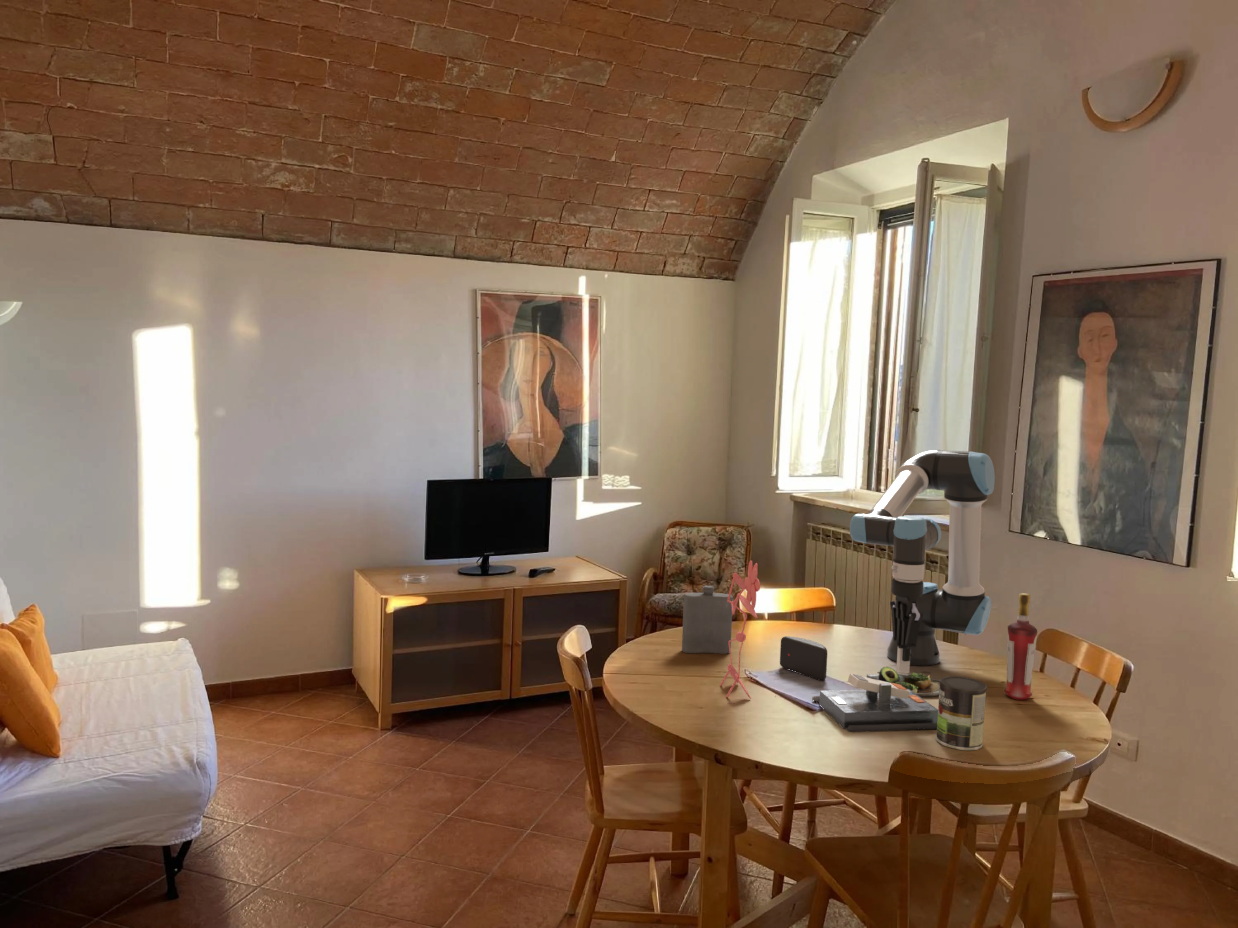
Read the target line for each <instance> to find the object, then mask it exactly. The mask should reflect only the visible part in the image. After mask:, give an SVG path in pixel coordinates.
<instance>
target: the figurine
mask: <svg viewBox="0 0 1238 928" xmlns="http://www.w3.org/2000/svg"><path fill="white" fill-rule="evenodd" d="M758 566H759V565H758V563H757V562H756V563H755V564H754V565H753V560H750V561H749V562H748V567H747V577H745V578H744V580H743V579H742V578H741V576H740V575H739V574H738V573H737V572H734V573H733V574H732V580H731V585H730V588H729V592H728V594H729V595H728V599H727V602H729V603H731V606H732V616H734V615H735V613H736V609H737V610H738V611H740V613H742V614H743V615H744V619H743V625H742V631H738V632H737V633H736V634H735V638H733V639H731V640H730V641H728V644H729V652H730V653H729V658H730V664H728V665H727V672H726V673H725V675H724V677H723V679H722V680H721V682H720V684H719V686H720V687H722V686H723V685H724V682H725V681H726V679H727V678H728V676H729V675H730V677H732V679H733V680H734V682H733V683H732V685H731V686H730V689H729V690H728V691H727V694H726V697H727V698H729V696H730V694H731V693H732V691H733V689H734V687H735V686H736V684H739V685H740V686H741V688H742V690H743V691H744V693H745V694H746V695H747V697H748V698H749V699H750V700H751V699H752V697H751V696H750V694H749V692H748V690H747V688H746V686H745V685H744V683H743V682H742V680H741V677H740V673H741V672H740V671H741V650H742V648H743V644H744V642H745V640H747V639H746V638H747V637H746V636H747V635H746V633H745V632H744V631H745V627H746V623H747V618H748V615H747V613H746V612H745V611H744V610H743V609H741V608H740V607H738V606H737V605H738V603H739V601H740V602H741V604H742V606H743V607H744V608H745V610H746V611H747V612H748V613H749V614H750V615H751V616H752V617H754V618H755V619H758V615H757V613H756V610H755V608H756V604H757V592H759V591H760V589H761V582H760V580H759V578H758V575H759V574H758V569H759V568H758ZM734 584H736V585H738V587H739V588H740V589H741V590H740V592H738V593H737V594H736V597H735V598H734V599H733V602H732V601H730V600H729V599H730V595H732V590H733V586H734ZM744 590H745V591H746V597H745V596H744V595H742V593H743V592H744ZM735 641H737V642H739V643H740V647H739V650H738V671H737V670H736V668H735V667H734V666H733V658H732V650H731V649H732V648H731V649H730V642H731V643H732V642H735ZM751 681H752V682H755V680H753V679H751ZM776 696H777V695H775V696H774V698H776ZM728 704H729V705H735V703H734V702H728Z"/></svg>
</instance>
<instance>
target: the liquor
mask: <svg viewBox="0 0 1238 928" xmlns="http://www.w3.org/2000/svg"><path fill="white" fill-rule="evenodd" d="M1018 595H1019V596H1018V605H1019V607H1018V612H1017V618H1016V621H1015V622H1012V623H1011V624H1009V625H1008V626H1007V635H1006V636H1007V639H1006V640H1007V641H1006V642H1007V643H1006V644H1007V645H1006V647H1007V648H1006V649H1007V650H1006V654H1007V655H1006V656H1007V657H1006V658H1007V659H1006V660H1007V661H1006V663H1007V664H1006V685H1005V689H1004V690H1003V691H1004V693H1005V694H1006V695H1007V696H1008V697H1009V698H1010V699H1013V700H1018V701H1026V700H1028V699H1029V698H1031V697H1032V696H1033V694H1032V691H1031V689H1032V678H1033V671H1034V670H1033V669H1034V664H1035V663H1034V661H1035V655H1036V649H1037V648H1036V647H1037V637H1038V632H1039V631H1038V629H1037V628H1036V627H1035V626H1034V625H1033V624H1031V623H1030V616H1029V615H1030V613H1029V611H1030V607H1029V605H1030V602H1031V594H1029V593H1024V592H1022V593H1019V594H1018Z"/></svg>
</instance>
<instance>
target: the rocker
mask: <svg viewBox="0 0 1238 928" xmlns="http://www.w3.org/2000/svg"><path fill="white" fill-rule="evenodd" d="M847 682H848V683H849V684H850V685H852V686H853V687H854V688H855V689H858V690H868V691H873V692H877V693H879V684H880V683H889V682H885V681H880V680H876V679H871V678H867V676H863V675H859V674H855V673H849V676H848V680H847ZM889 684H890V685H891V696H895V697H899V698H904V699H908V696H909V693H910V691H908V690H907V689H905V688H904V687H903V686H901V685H900V684H895V683H889Z"/></svg>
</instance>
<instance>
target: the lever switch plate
mask: <svg viewBox="0 0 1238 928" xmlns="http://www.w3.org/2000/svg"><path fill="white" fill-rule="evenodd" d="M878 675H879V674H877V673H875V674H872V673H871V674H868V673H867V674H866V677H867V678H871V679H876V680H878V679H879V676H878ZM907 690H908V691H910V693H909V696H908V699H904V698H899V697H895V696H891V685H890V684H889V683H880V684H879V693H877V692H873V691H868V690H864V689H842V690H841V689H837V690H834V689H831V690H819V696H820V701H819V702H818V705H819V704H820V705H821V706H822V707H823V708H824V710H823V711H824V712H825V713H826V714H827V715H828V717H830V718H832V720H833V721H835V722H836V724H838V725H839V726H840V727H841V728H842V729H843V730H848V726H849V725H878V724H915V723H937V721H938V708H936V707H935V706H934V705H933V704H930V702H928V701H926V700H925V699H923V697H919V696H918V695H916V694H915V693H914V692H912V691H911V690H909V689H907Z"/></svg>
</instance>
